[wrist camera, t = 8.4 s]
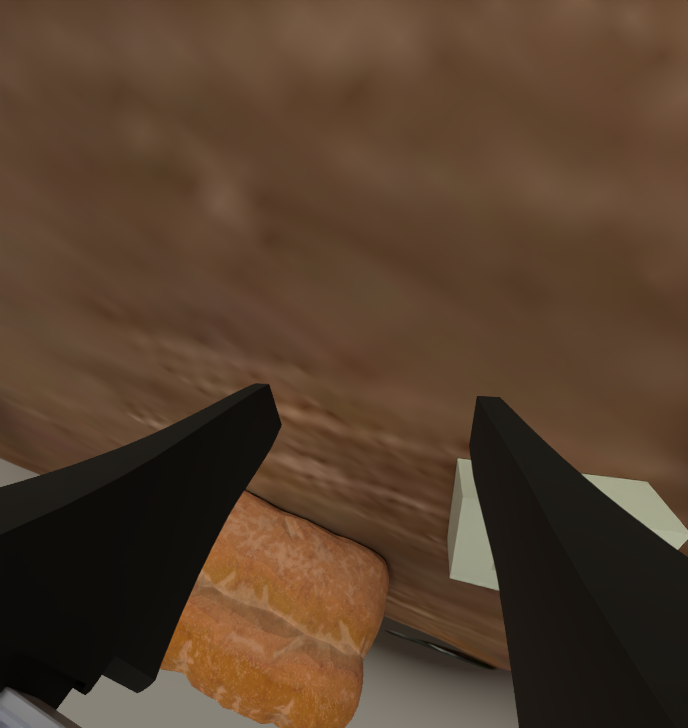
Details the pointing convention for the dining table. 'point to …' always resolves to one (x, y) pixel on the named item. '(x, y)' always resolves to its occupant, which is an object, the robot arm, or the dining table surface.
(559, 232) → the dining table surface
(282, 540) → the bread
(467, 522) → the socket block
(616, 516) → the robot arm
